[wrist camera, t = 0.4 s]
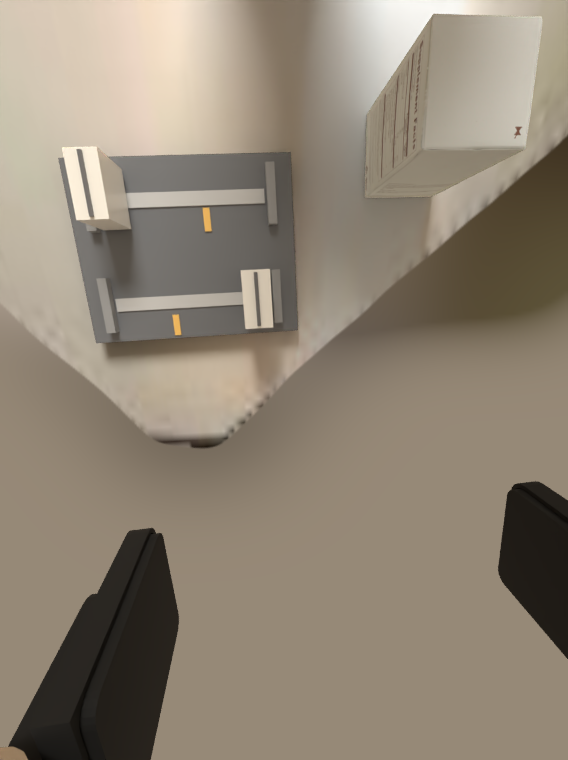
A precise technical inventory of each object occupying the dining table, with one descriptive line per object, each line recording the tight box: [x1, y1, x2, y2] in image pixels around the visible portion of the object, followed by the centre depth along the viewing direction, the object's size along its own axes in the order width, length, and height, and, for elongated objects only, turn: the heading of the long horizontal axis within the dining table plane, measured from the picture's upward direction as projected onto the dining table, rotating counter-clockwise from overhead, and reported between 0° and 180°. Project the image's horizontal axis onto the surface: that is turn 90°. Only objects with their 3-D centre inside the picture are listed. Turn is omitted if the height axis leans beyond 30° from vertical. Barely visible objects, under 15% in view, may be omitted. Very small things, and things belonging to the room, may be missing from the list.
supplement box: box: [365, 14, 543, 198], centre depth 27 cm, size 7×7×13 cm
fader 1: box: [62, 147, 131, 230], centre depth 27 cm, size 5×2×5 cm, turn 3°
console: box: [58, 152, 298, 343], centre depth 32 cm, size 16×20×3 cm
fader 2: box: [241, 269, 273, 329], centre depth 31 cm, size 5×2×5 cm, turn 3°
